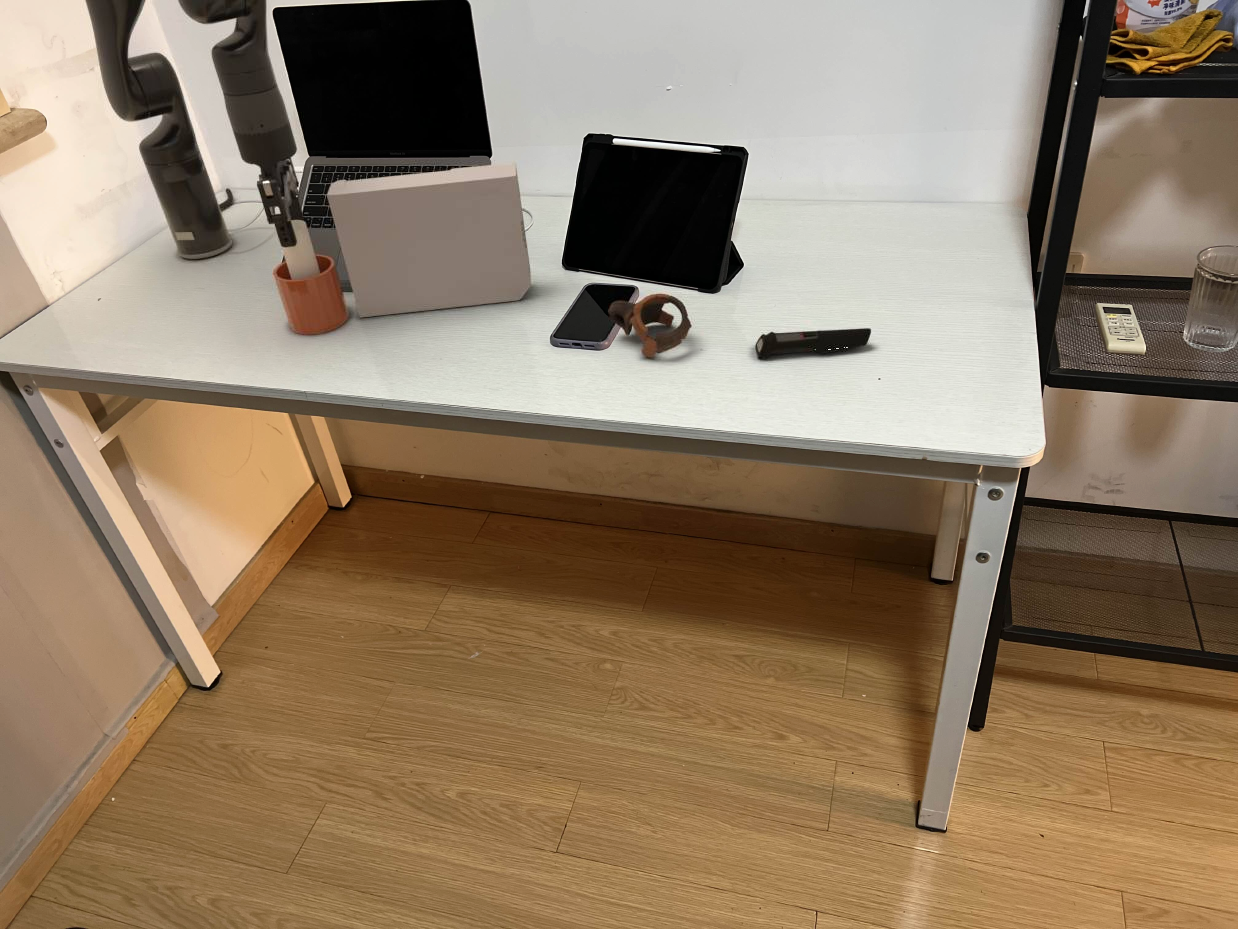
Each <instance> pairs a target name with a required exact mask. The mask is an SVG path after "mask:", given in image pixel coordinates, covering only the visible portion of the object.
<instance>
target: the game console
mask: <svg viewBox="0 0 1238 929" xmlns="http://www.w3.org/2000/svg"><path fill="white" fill-rule="evenodd" d="M326 197H327V201H328V205H329V209H330V213H331V215H332V220H333V223H334V226H335V230H336V234H337V238H338V241H339V245H340V249H341V253H342V256H343V259H344V264H345V267H346V271H347V275H348V278H349V282H350V287H351V289H352V293H353V296H354V300H355V305H356V308H357V311H358V315H359V318H368V317H377V316H378V317H379V316H388V315H395V314H397V315H398V314H405V313H416V312H422V311H423V312H425V311H432V310H443V309H453V308H459V307H460V308H461V307H469V306H479V305H490V304H497V303H498V304H499V303H508V302H516V301H520V300H521V299H522V298H523V297H524V296H525V294H526V293H527V291H529V289H530V288H531V286H532V275H531V264H530V257H529V250H528V243H527V235H526V228H525V220H524V212H523V206H522V198H521V192H520V183H519V177H518V169H517V162H516V161H515V162H509V163H498V164H487V165H477V166H467V167H455V168H451V169H449V170H441V171H439V170H438V171H432V172H422V173H421V172H420V173H411V174H410V173H409V174H401V175H391V176H382V177H371V178H362V179H353V180H352V179H351V180H346V179H340V180H337V181H335V182H332V183H330V186H329V189H328V191H327V193H326Z"/></svg>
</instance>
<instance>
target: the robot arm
mask: <svg viewBox="0 0 1238 929" xmlns="http://www.w3.org/2000/svg"><path fill="white" fill-rule="evenodd" d="M84 1H85V4H86V8H87V11H88V15H89V19H90V22H91V27H92V32H93V37H94V42H95V48H96V53H97V58H98V66H99V71H100V76H101V80H102V84H103V85H102V86H103V89H104V92H105V94H106V97H107V100H108V102H109V104H110V107H111V108H112V110H113V111H114V113H115V114H116V115H117V117H119V119H121V120H123V121H125V122H129V123H133V122H139V121H144V120H148V119H151V118H155V117H158V116H159V117H160V116H161V119H160V122H159V124H158V125H157V126H156V128H155V129H153V131H151V132H150V133H149V134H148V135H146V136H145V137H144V138H143V139H141V141H140V143H139V144H138V150H139V153H140V156H141V159H142V162H143V163H144V167H145V168H146V169H145V170H146V171H147V174H148V177H149V179H150V181H151V184H152V186H153V189H154V191H155V194H156V197H157V200H158V202H159V204H160V205H159V206H160V207H161V210H162V212H163V214H164V215H163V216H164V217H165V220H166V223H167V225H168V228H169V231H170V233H171V236H172V238H173V241H174V243H175V246H176V249H177V253H178V255H179V257H181V258H182V259H187V260H200V259H202V260H203V259H207V258H211V257H214V256H218V255H220V254H223V253H224V252H226V251H227V250H228V249H230V248H231V247H232V245H233V240H232V237H231V236H230V234H229V233H230V232H229V230H228V228H227V225H226V224H227V223H226V222H225V218H224V216H223V212H222V210H223V209H225V208H227V207H229V205H231V204H232V202H233V200H234V196H233V192H232V190H231V189H230V188H228V187H227V188H226V189H225V193H226V195H227V199H226V200H224V201H223V202H221V203H219V201H218V198H217V196H216V193H215V190H214V187H213V184H212V182H211V178H210V176H209V173H208V170H207V168H206V164H205V162H204V159H203V156H202V153H201V150H200V147H199V144H198V141H197V136H196V132H195V129H194V126H193V123H192V120H191V116H190V113H189V110H188V107H187V104H186V100H185V97H184V93H183V89H182V86H181V84H180V80H179V77H178V75H177V73H176V70H175V68H174V67H173V65H172V62H170V60H169V59H168V58H167V56H165V55H164V54H162V53H160V52H149V53H145V54H141V55H140V54H139V55H135V56H131V57H129V46H130V40H131V37H132V34H133V32H134V29H135V27H136V25H137V22H138V20H139V18H140V16H141V13H142V11H143V8H144V6H145V4H146V0H84ZM177 1H178V4H179V6H180V8H181V9H182V11H183V12H184V13H185V14H186V15H187V17H189V18H190V19H191V20H193V21H194V22H196V23H199V24H201V25H214V24H218V23H222V22H226V21H230V20H235V25H234V29H233V31H232V33H231V34H229V35H228V36H227V37H225V38H224V39H222V40H220V41H218V42H217V43H215V44H214V45H213V47H212V48H211V59H212V63H213V66H214V69H215V72H216V75H217V79H218V82H219V85H220V88H221V91H222V95H223V100H224V106H225V110H226V114H227V117H228V120H229V122H230V127H231V129H232V133H233V136H234V140H235V142H236V145H237V148H238V152H239V156H240V158H241V160H242V161H243V162H244V163H246V164H248V165H255V166H257V167H259V169H260V174H258V180H257V181H256V187H257V189H258V193H259V196H260V200H261V202H262V206H263V209H264V212H265V216H266V221H267V223H268V225H274V227H275V231H276V234H277V237H278V241H279V244H280V247H281V246H282V247H293V246H296V244H297V239H296V236H295V233H294V229H293V226H292V223H291V220H302V221H304V220H305V217H304V212H303V210H302V206H301V203H300V199H299V197H298V196H299V193H300V191H299V189H298V188H299V186H300V181H299V180H298V177H297V174H296V170H295V167H294V163H293V160H292V157H294V156H295V155H296V153H297V152H298V151H297V150H298V148H297V147H298V146H297V144H296V143H297V142H296V139H295V136H294V132H293V129H292V126H291V121H290V119H289V114H288V111H287V108H286V103H285V101H284V98H283V96H282V93H281V90H280V88H279V85H278V82H277V79H276V74H275V72H274V68H273V65H272V60H271V56H270V54H269V44H268V26H267V25H268V24H267V0H177ZM276 208H278V210H279V213H276ZM282 247H281V248H282Z"/></svg>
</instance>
